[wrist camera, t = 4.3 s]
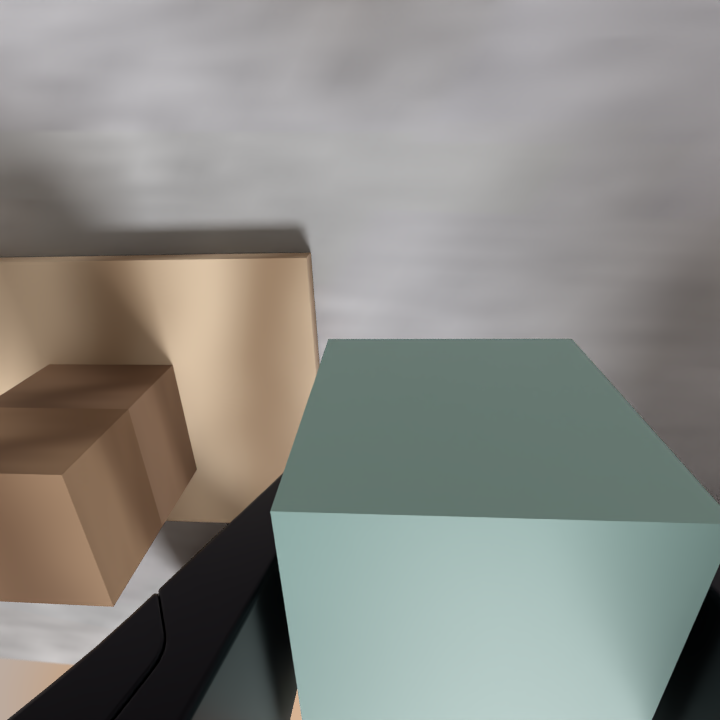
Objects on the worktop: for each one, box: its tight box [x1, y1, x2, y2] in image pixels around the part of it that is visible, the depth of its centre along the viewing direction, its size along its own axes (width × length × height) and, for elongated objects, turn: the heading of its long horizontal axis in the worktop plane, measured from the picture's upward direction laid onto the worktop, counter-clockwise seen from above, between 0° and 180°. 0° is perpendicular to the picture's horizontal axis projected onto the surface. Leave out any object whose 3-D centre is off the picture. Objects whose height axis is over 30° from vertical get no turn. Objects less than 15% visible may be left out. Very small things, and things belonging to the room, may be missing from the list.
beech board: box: [0, 253, 319, 523], centre depth 19 cm, size 16×12×1 cm
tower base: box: [0, 364, 197, 526], centre depth 17 cm, size 5×5×3 cm
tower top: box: [0, 407, 162, 607], centre depth 14 cm, size 5×5×3 cm
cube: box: [270, 339, 720, 720], centre depth 7 cm, size 4×4×4 cm
